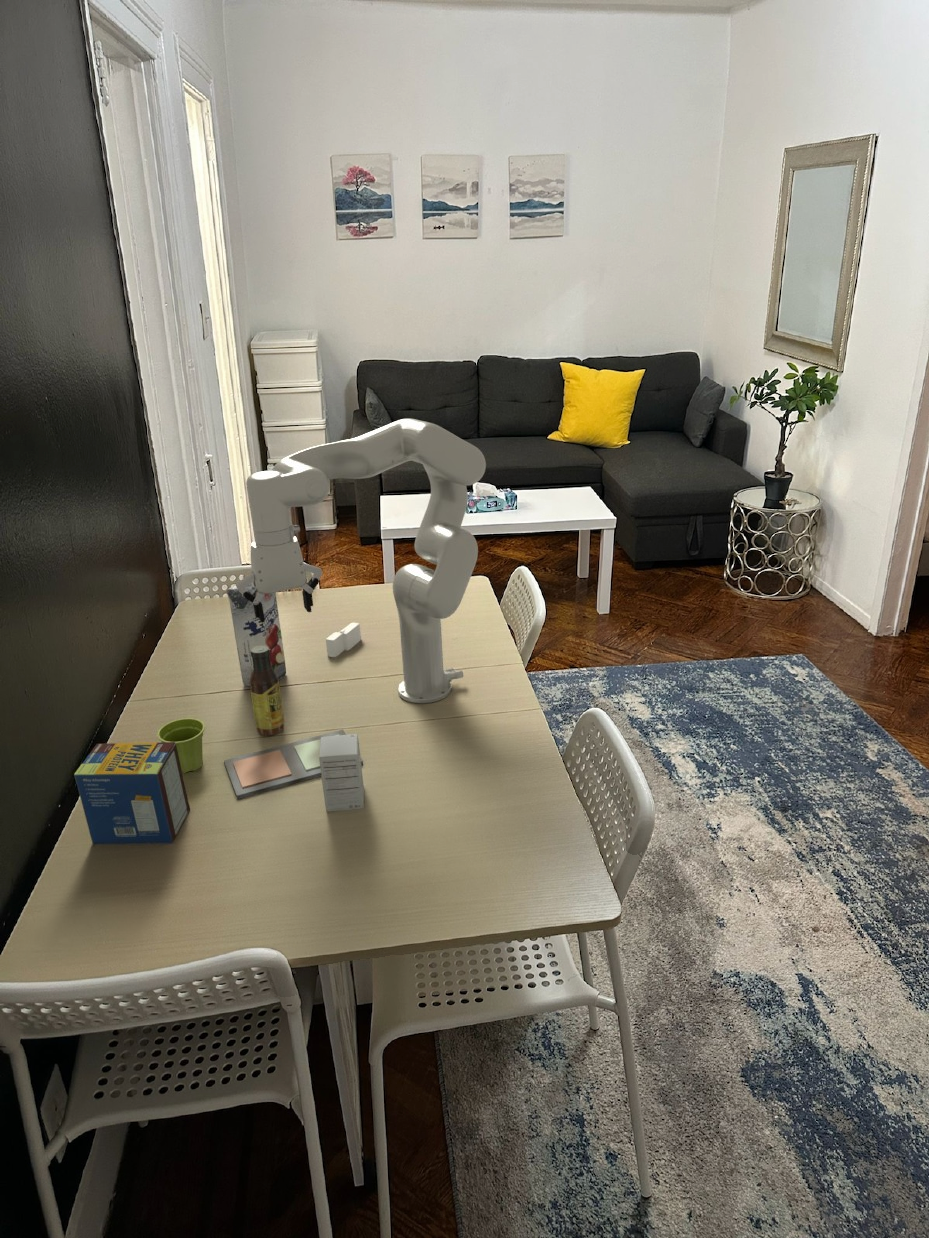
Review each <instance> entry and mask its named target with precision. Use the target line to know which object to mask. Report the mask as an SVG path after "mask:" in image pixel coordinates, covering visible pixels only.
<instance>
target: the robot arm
mask: <svg viewBox="0 0 929 1238" xmlns="http://www.w3.org/2000/svg"><path fill="white" fill-rule="evenodd" d="M409 461H412V462H415V463H418V464H422V466H423V468H424V470H425V472H426V474H427V477H428V480H429V483H430V496H429V500H428V504H427V507H426V510H425V512H424V515H423V517H422V520H421V522H420V526H419V529H418V531H417V533H416V537H415V540H414V550H415V552H416V554H417V555H418V556H419V557H420V558H422V559H423V560H424V561H427V562H429V563H430V564H433V565H435V566H436V567H435V570H434V569H432V568H429V567H428V566H425V565H422V564H417V563H408V564H406V565H404V566H402V567H400V568H399V569H398V571H396V573H395V575H394V577H393V580H392V594H393V598H394V601H395V605H396V609H397V613H398V620H399V622H398V623H399V631H400V633H399V635H400V647H401V657H402V658H401V659H402V670H403V671H402V672H403V680H402V681H401V682H400V683H399V685H398V686H397V693H398V696H399V697H400V698H401V699H403V700H405V701H406V702H410V703H414V704H430V703H434V702H435V703H436V702H438V701H441V700H443V699H444V698H447V696H448V695H450V693H451V691H452V684H451V682H452V680H457V679H462V678H464V672H463V670H462V669H459V670H455V669H454V667H449V668H447V669H444V654H443V638H442V636H443V635H442V621H441V620H445V619H447V618H449V617H451V616H452V615H453V614H455V613H456V611H457V610H458V608H459V606H460V605H461V602H462V600H463V598H464V595H465V592H466V589H467V587H468V585H469V582H470V580H471V577H472V574H473V572H474V569H475V566H476V564H477V560H478V555H479V553H478V552H479V547H478V542H477V540H476V538H475V536H474V535H473V534H472V533H471V532H469V531H468V530H466V529H464V528H462V524H463V520H464V517H465V515H466V511H467V509H468V500H469V497H468V489H467V488H468V487H467V486H472V485H474V484H476V483H478V482H479V481H481V479H482V478H483V476H484V474H485V472H486V468H487V463H486V462H487V461H486V459H485V456H484V454H483V452H482V451H481V450H480V448H478V447H477V446H475V445H474V444H472V443H470V442H468V441H466V440H465V439H462V438H460V437H459V436H457V435H455V434H454V433H452V432H450V431H449V430H448V429H445V428H443V427H442V426H440V425H438V424H435V423H433V422H428V421H424V420H419V419H417V418H416V419H415V418H409V417H408V418H402V419H398V420H396V421H393V422H390V423H388V424H386V425H383V426H381V427H379V428H376V429H374V430H371V431H369V432H366V433H364V434H362V435H359V436H356V437H352V438H350V439H349V438H348V439H344V440H339V441H334V442H330V443H325V444H320V445H316V446H312V447H309V448H306V449H303V450H299V451H298V452H295V453H293V454H290V455H288V456H286V457H283V458H282V459H280V460H279V461H278V462H276V464H274V465H273V467H272V469H271V470H264V471H263V470H262V471H257V472H254V473H252V474H250V475H249V476H247V479H246V483H245V484H246V485H245V486H246V490H247V491H246V492H247V498H248V505H249V511H250V517H251V523H252V524H251V525H252V530H253V539H254V541H252V542H251V544H250V568H251V569H250V570H251V573H249V574H248V575H246V576H245V577H244V578H242V579H241V580H239V581H238V582H236V584H235V586H236V587H237V589H238V590H239V591H240V593H241V594H242V595H243V596H244V598H246V599H247V600H249V601H251V602H252V603H253V606H254V613H255V617H256V618H259V620H260V621H261V622H264V621H265V619H264V612H263V606H262V603H261V602H260V601H261V599H262V597H263V596H264V594H269V593H274V592H276V593H278V592H283V591H284V592H285V591H288V590H289V591H290V590H293V589H294V590H295V589H298V588H301V589H302V592H301V593H302V601H303V608H304V609H305V611H306V612H308V613H312V607H314V601H313V593H314V590H315V589H316V587H317V586H318V585H319V583H320V579H321V576H322V574H323V570H322V569H321V567H319V566H315V565H312V564H308V563H306V562H304V558H303V553H302V550H301V547H300V544H299V541H298V538H297V536H295V534H297V533H300V532H301V527H300V525H299V524H293V523H292V521H293V520H292V514H291V508H296V507H298V508H299V507H310V506H316V505H318V504H320V503H322V502H323V501H324V500H326V498H327V497H328V496H329V494H330V491H331V481H330V480H334V479H335V480H336V479H350V480H351V479H353V480H358V479H360V480H361V479H369V478H372V477H375V476H377V475H379V474H382V473H384V472H385V471H389V470H390V469H392V468H395V467H397V466H400V465H402V464H405V463H407V462H409ZM306 572H308V573H311V574H312V577H311V578H310V579H309V580H308V582H307V573H306ZM252 582H253V584H254V587H256V588H255V590H254V592H253V593H250V592H249V591H247V590H246V587H247V586H248V585H249V584H251V583H252Z"/></svg>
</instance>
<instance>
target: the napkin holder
mask: <svg viewBox="0 0 929 1238" xmlns="http://www.w3.org/2000/svg"><path fill="white" fill-rule="evenodd" d="M360 641H362V633H361V624H360V622H353V621H352V622H351V623H349V624H348V625H347V626H345V627H344V628H343V629H341V630H340V631H339V632H337V631H334V632H333V633H332V634H330V635H329V636H328V637H326V639H325V643H326V644H325V645H326V653H327V657H331V658H337V657H338V656H339V655H340V654H342V653H343V652H344V651H349V650H351V649H352V648H353V647H355V646H357V644H358V643H359V642H360Z"/></svg>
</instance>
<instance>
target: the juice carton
mask: <svg viewBox="0 0 929 1238" xmlns="http://www.w3.org/2000/svg"><path fill="white" fill-rule="evenodd" d="M255 588H256V587H254V584H253V582H252V583H251V584H249V585H248V586H247V587H246V590H247V591H249V592H250V593H253V592H254V590H255ZM226 594H227V597H228V601H229V607H230V613H231V618H232V624H233V626H232V627H233V630H234V631H233V632H234V637H235V644H236V650H237V656H238V661H239V663H238V664H239V670H240V676H241V680H242V683H243V684H242V685H244V686H246V687H250V688H251V685H250V676H251V674H252V672H253V669H254V668H253V660H252V657H251V652H250V650H251V649H252V648H253V647H256V646H261V645H264V646H267V647H269V650H270V663H271V667H272V668H273V670H274V672H275V674H276V676H277V678H278V680H279V681H280V680H281V679H282V678H283V677H284V676H285V675H287V666H286V659H285V652H284V651H285V650H284V643H283V637H282V630H281V629H282V628H281V623H280V615H279V607H278V601H277V592H274V593H269V594H264V596H263V597H262V599H261V601H260V602H261V603H262V606H263V612H264V619H265V621H264V622H261V621H260V620H259V618H256V617H255V613H254V606H253V603H252V602H251V601H249V600H247V599H246V598H244V596H243V595H242V594H241V593H240V591H239V590H238V589H237V587H236V585H234V586H232V587H229V588H227V589H226Z"/></svg>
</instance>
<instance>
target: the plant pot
mask: <svg viewBox="0 0 929 1238" xmlns="http://www.w3.org/2000/svg"><path fill="white" fill-rule="evenodd" d="M205 728H206V726H205V723H204V722H203V721H202V720H200V719H199V718H198V719H197V718H192V717H185V718H178V719H174V720H172V721H169V722H167V723H165V724H164V725H162V727H160V728H159V729H158V732H157V738H158V740H159V741H161V742H175V743H176V746H177V751H178V756H179V760H180V765H181V770H182V774H186V773H187V772H191V771H192V772H194V771H197V769H199V768H200V767H202V765H203V760H204V759H203V736H204V732H205V730H206V729H205Z"/></svg>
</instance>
